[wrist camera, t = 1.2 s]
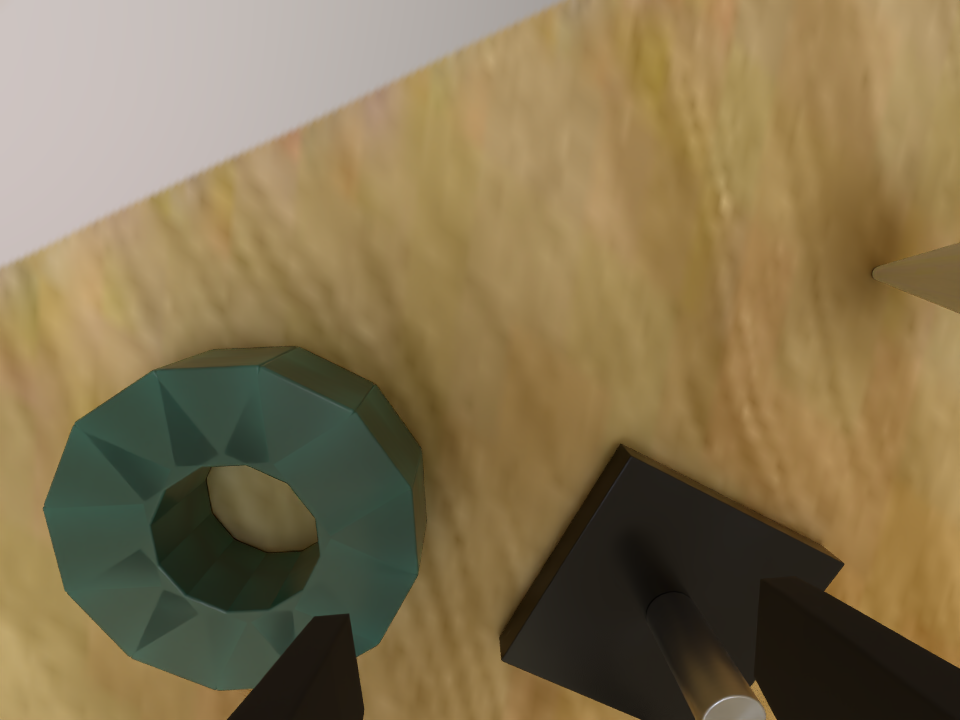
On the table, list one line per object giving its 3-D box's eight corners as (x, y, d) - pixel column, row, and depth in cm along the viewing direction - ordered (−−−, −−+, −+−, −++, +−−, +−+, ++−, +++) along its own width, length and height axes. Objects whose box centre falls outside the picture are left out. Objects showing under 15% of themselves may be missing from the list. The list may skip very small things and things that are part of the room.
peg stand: (691, 719, 21) (771, 883, 15) (498, 637, 20) (511, 783, 14) (822, 545, 19) (965, 660, 14) (620, 442, 18) (688, 523, 12)
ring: (350, 658, 20) (328, 734, 16) (82, 550, 18) (2, 611, 15) (476, 432, 18) (478, 469, 14) (186, 290, 16) (118, 297, 13)
